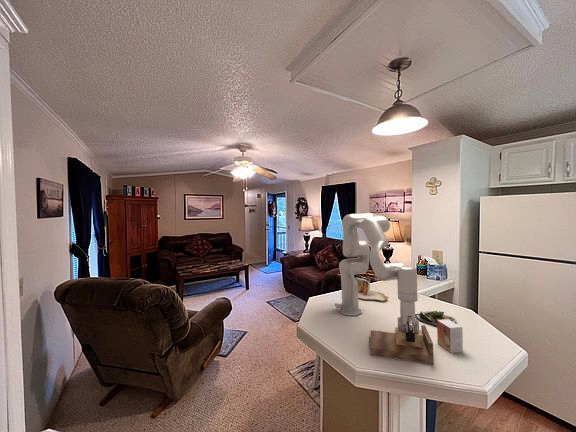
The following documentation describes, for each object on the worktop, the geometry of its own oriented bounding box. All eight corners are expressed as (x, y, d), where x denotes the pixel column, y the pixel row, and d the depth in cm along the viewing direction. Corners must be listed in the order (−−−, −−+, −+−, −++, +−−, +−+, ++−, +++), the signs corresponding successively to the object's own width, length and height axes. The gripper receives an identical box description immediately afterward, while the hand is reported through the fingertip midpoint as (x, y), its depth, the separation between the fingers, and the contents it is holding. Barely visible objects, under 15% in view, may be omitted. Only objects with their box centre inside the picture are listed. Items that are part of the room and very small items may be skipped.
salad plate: (428, 310, 146) (428, 302, 146) (463, 321, 131) (462, 312, 131) (410, 319, 135) (409, 310, 135) (445, 331, 120) (445, 322, 120)
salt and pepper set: (396, 344, 104) (395, 320, 104) (395, 338, 108) (394, 315, 108) (423, 347, 100) (422, 323, 100) (421, 341, 105) (420, 318, 105)
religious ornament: (346, 294, 179) (346, 278, 179) (369, 290, 185) (369, 275, 185) (368, 306, 155) (367, 287, 155) (393, 301, 162) (393, 283, 162)
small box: (437, 343, 109) (436, 319, 109) (449, 342, 109) (448, 318, 109) (450, 353, 101) (449, 327, 101) (463, 352, 101) (462, 326, 101)
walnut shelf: (370, 354, 102) (369, 335, 102) (370, 336, 117) (370, 319, 117) (433, 364, 94) (433, 343, 94) (425, 343, 109) (425, 325, 109)
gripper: (396, 289, 113) (397, 326, 113) (399, 301, 97) (401, 345, 97) (414, 290, 111) (415, 328, 111) (421, 303, 95) (422, 348, 95)
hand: (408, 335), depth 104 cm, fingers open, 9 cm apart
